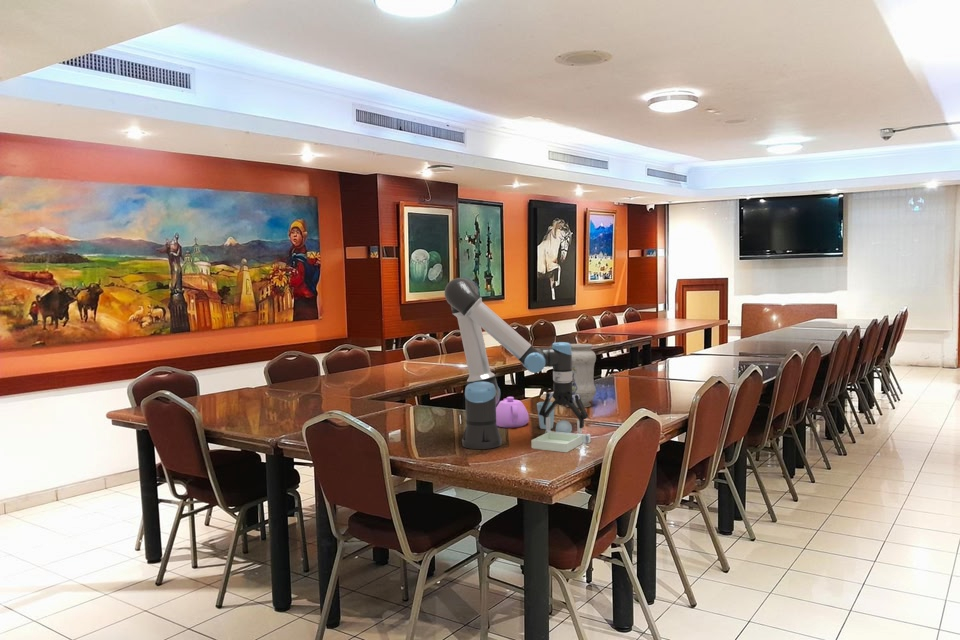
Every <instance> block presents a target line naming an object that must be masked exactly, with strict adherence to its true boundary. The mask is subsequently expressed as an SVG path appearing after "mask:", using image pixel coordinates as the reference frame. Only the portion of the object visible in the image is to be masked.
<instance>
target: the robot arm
mask: <svg viewBox="0 0 960 640" xmlns="http://www.w3.org/2000/svg"><path fill="white" fill-rule="evenodd" d="M444 298H445V300H446V302H447V303H448V304H449V305H450V308H451V312H452V313H451V314H452V315H453V316H455V317H456V318H457V323H458V327H459V332H460V336H461V341H462V346H463V351H464V355H465V360H466V365H467V371H468V375H469V376H468V378H467V380H466V384H467V385H465V389H464V399H465V427H464V431H463V436H462V438H461V445H462V447H464V448H466V449H470V450H486V449H488V450H489V449H494V448H498V447H500V446H502V445H503V444H502V436H501V433H500V430H499V428H498V427H499V426H497V424H496V407H497V405H498V404H499V402H500V401H501V400H500V399H501V389H500V387H499V386H498V383H497V382H498V381H497V378H496V374H495V373H493V372H492V371H491V367H490V362H489V358H488V354H487V349H486V348H487V347H486V344H485V339H484V334H483V330H484V331H485V332H486V333H487V334H488V335H490V337H492V338H493V339H494V340H495V341H497V342H498V343H499V344H500V345H501V346H502V347H503V348H504V349H506V350H507V351H508V353H510V354H511V355H512V356H514V357H515V358H516V359H517V360H518V361H519V362H520V363H521V364H522V366H523V367H524V368H525V369H527V371H528V372H530V373H531V374H533V373H534V374H537V373H540V372H541V371H543V369H545V368H551V367H552V380H553V383H552V384H553V385H552V389H553V393H552V392H546V394H545V398H544V401H543V402H544V403H543V406H542V408H541V410H540V412H539V415H542V416H543V417H544V425H546V429H545V431H547V430H550V431H552V430H551V425H550V416H549V414H550V413H551V411H552V410H553V409H554V408H556V407H557V405H559V406H562V405H563V406H565V405H568V406H569V407H568V408H569V409H571V411H572V412H573V414H575V416H576V417H577V420H576V423H577V425H576V427H577V429H576V431H577V432H576V434H583V429H584V427H585V423H584V422H585V420H586V419H588V418H589V415H588V412H587V410H586V407H585V408H584V406H583V404H582V401H581V398H580V394H577V395H573V394H572V382H571V381H572V352H571V345H570V344H571V343H570V342H567V341H566V342H564V341H559V342H553V343H552V345H551V347H544V348H543V347H534V346H533V345H532V344H531V343H530V342H529V341H528V340H526V338H524V337H523V336H522V335H520V334H519V333H518V332H517V331H516V329H514V328H513V327H512V326H511V325H509V323H507V322H506V321H505V320H503V318H501V317H500V316H499V315H498V314H497V313H495V312H494V310H492V309H491V308H490V307H489V306H488V305H487V304H485V303H484V302H483V298H482V297H481V296H480V289H479V287H478V285H477V283H476V282H475V281H473V280H472V279H471V278H468V277H456V278H454V279H451V280H450V281H449V282H448V283H447V284H446V286H445V289H444ZM482 329H483V330H482ZM573 398H574V400H575V401H576V404H577V406H578V408H577V407H576V406H575V405H574V402H573V401H572V399H573ZM551 399H553V400H554V401H552V402H553V403H552V405H551V406H550V407H549V408H548V410H547V411H546V408H547V406H548V404H549V402H551ZM545 411H546V412H545Z"/></svg>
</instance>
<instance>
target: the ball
mask: <svg viewBox="0 0 960 640" xmlns="http://www.w3.org/2000/svg"><path fill="white" fill-rule="evenodd" d="M572 431H573V427H572V423H570V422H569V421H568V420H565V419H562V420H559V421H557V423H556V424H555V432H564V433H572Z"/></svg>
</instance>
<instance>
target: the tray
mask: <svg viewBox="0 0 960 640" xmlns="http://www.w3.org/2000/svg"><path fill="white" fill-rule="evenodd" d="M530 441H531V442H530V443H531V449H533V450H542V451H543V450H544V451H548V452H549V451H551V452H559V453H560V452H561V453H569V452H570V451H572V450H573V449H575V448H577V447H579V446H580V445H582V444H583V443H582V436H580V435H571V434H561V433H551V432H547V433H545V432H544V433H543V434H541V435H538V436H537V437H536V438H533V439H531V440H530Z"/></svg>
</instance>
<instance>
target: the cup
mask: <svg viewBox="0 0 960 640" xmlns="http://www.w3.org/2000/svg"><path fill="white" fill-rule="evenodd" d="M553 402H554V401H550V402H549V404H548V406H547V408H546V411H547V410H548V408H549V407H550V406H551V405H552V403H553ZM543 403H544V401H539V402H537V403H536V409H537V417H538V423H539V428H540V429H541V430H546V425H544V417H543V416H542V415H539V412H540V410H541V408H542V406H543ZM555 408H556V407H555ZM555 408H554V409H553V410H552V411H551V413H550V414H549V416H550V425H551V429H554V421H555ZM546 411H545V412H546Z"/></svg>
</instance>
